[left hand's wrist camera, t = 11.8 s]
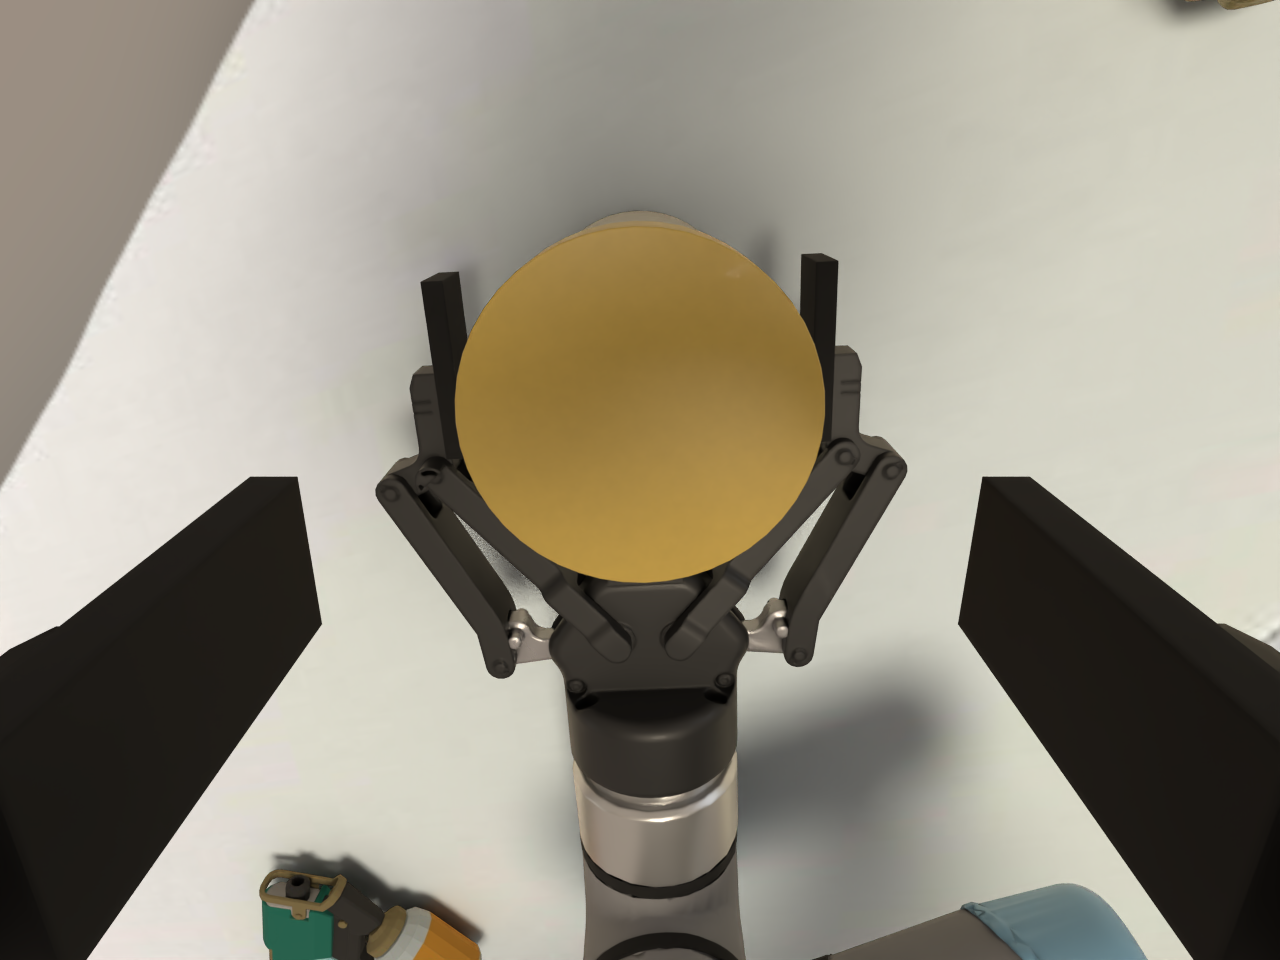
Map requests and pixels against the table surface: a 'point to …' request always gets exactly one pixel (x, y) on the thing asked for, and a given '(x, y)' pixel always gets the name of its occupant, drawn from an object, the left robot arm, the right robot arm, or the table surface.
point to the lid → (639, 402)
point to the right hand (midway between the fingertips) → (628, 265)
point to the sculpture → (1238, 3)
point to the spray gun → (350, 924)
